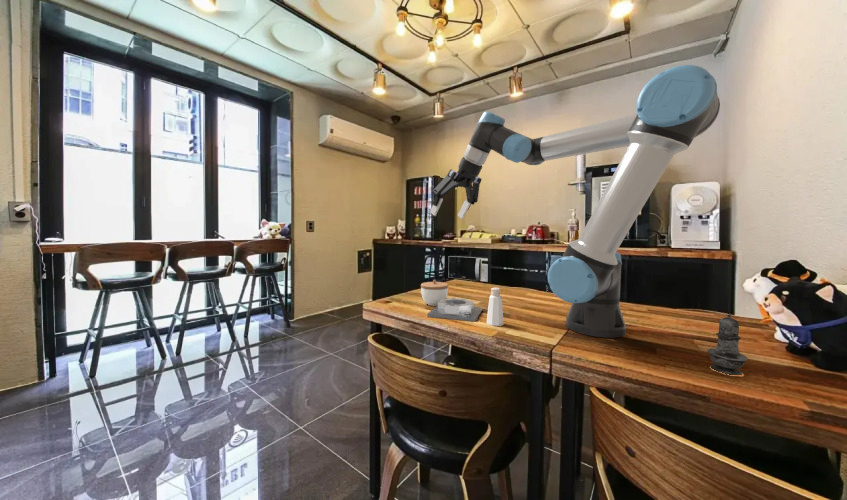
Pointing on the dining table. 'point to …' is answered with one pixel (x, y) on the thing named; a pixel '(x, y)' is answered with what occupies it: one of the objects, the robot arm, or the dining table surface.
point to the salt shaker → (495, 308)
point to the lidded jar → (434, 292)
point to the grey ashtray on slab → (456, 309)
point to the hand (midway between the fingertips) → (446, 215)
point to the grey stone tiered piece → (727, 348)
